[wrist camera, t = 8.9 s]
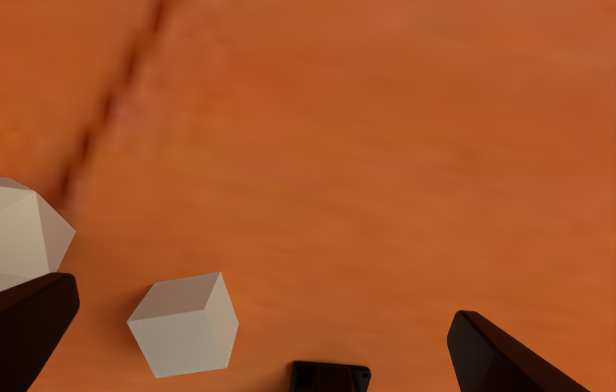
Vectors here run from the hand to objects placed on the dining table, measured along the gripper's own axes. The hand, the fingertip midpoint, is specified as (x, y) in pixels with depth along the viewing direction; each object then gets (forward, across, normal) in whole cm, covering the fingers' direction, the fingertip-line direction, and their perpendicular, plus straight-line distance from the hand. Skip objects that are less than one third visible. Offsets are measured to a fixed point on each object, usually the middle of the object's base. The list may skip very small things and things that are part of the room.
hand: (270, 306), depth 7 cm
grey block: (+13, +6, +12) cm, 19 cm away
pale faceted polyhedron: (+13, +17, +6) cm, 22 cm away
